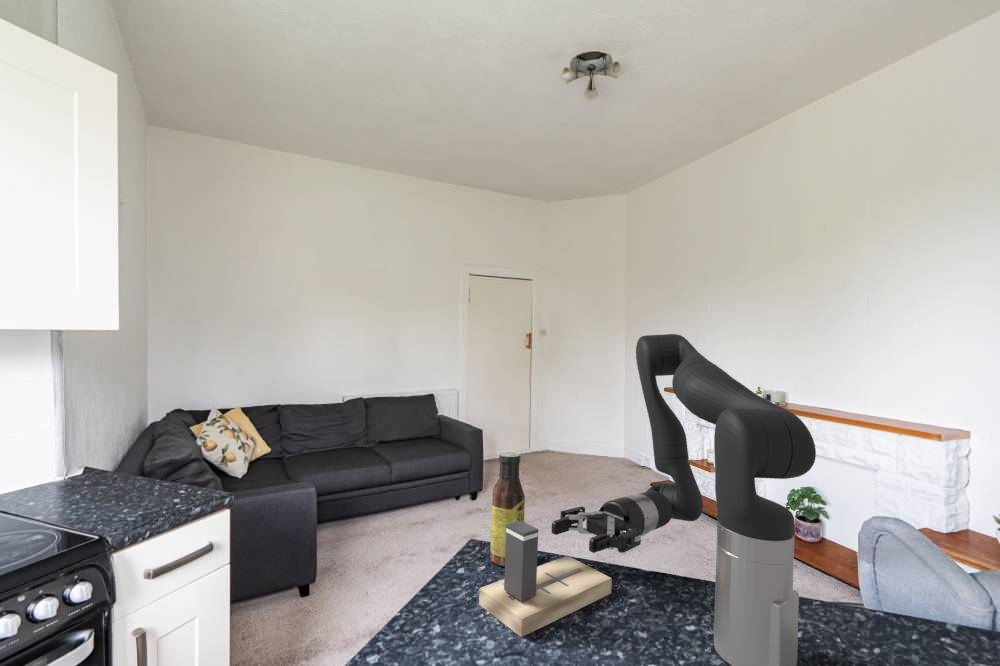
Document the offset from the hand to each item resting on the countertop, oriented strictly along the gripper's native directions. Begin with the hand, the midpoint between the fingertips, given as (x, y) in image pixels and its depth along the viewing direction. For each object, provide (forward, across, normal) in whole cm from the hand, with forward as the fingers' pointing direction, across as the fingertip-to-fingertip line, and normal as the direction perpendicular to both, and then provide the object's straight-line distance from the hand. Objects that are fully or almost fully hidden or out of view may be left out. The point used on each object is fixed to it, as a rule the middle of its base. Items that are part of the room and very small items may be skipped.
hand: (571, 536), depth 79 cm
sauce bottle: (+2, -14, +9) cm, 17 cm away
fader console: (+5, 0, +9) cm, 10 cm away
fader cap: (+11, 0, +6) cm, 13 cm away
